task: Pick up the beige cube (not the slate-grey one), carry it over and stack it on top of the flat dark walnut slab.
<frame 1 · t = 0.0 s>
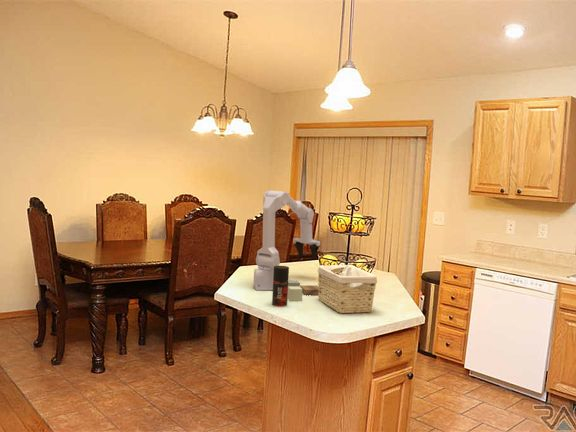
hand: (307, 257, 244), 11 cm above the table, tool pointing down, fingers open, 7 cm apart
slate cube: (292, 292, 214), on the table
walnut slab: (310, 294, 214), on the table
beige cube: (294, 299, 202), on the table
deodorant: (279, 305, 193), on the table
storage basket: (344, 306, 196), on the table
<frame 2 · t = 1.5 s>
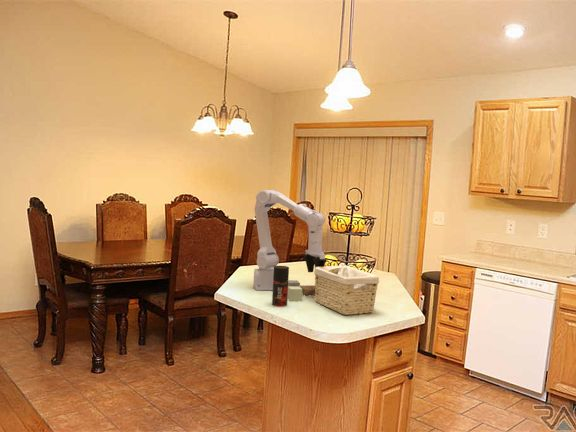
hand: (314, 273, 207), 10 cm above the table, tool pointing down, fingers open, 7 cm apart
storage basket: (343, 307, 194), on the table, touching gripper
everything else where it was.
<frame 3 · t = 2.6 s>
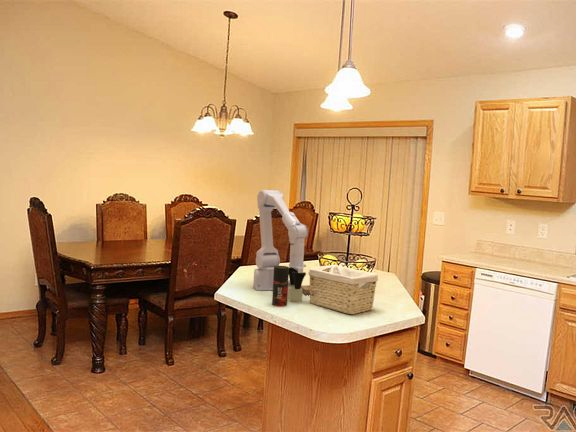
hand: (295, 286, 202), 5 cm above the table, tool pointing down, fingers open, 7 cm apart
storage basket: (340, 307, 195), on the table
everything else where it was.
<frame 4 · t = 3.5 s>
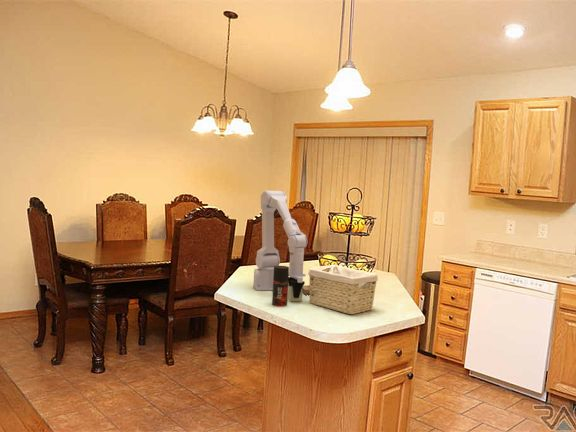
hand: (294, 296, 202), 1 cm above the table, tool pointing down, fingers closed on beige cube, 5 cm apart
beige cube: (294, 299, 202), on the table, touching gripper
everything else where it was.
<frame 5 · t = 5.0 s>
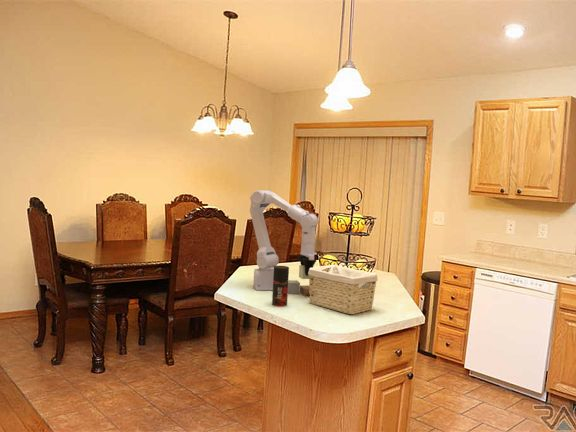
hand: (306, 273, 209), 9 cm above the table, tool pointing down, fingers closed on beige cube, 5 cm apart
beige cube: (306, 277, 209), point 8 cm above the table, touching gripper
everything else where it was.
when the fingers open (6 cm above the table, at t = 6.5 s): beige cube drops 1 cm, point 3 cm above the table.
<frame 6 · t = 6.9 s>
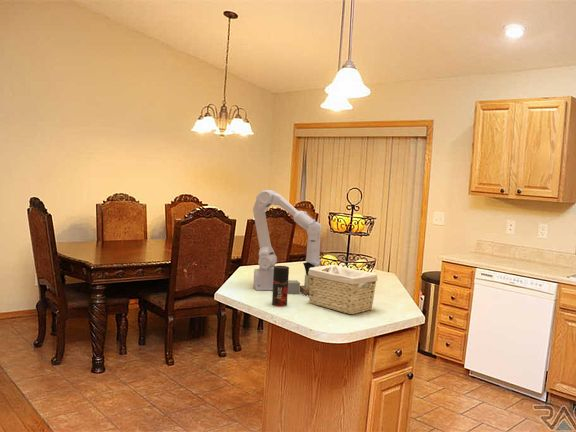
hand: (311, 280, 214), 6 cm above the table, tool pointing down, fingers open, 7 cm apart
beige cube: (311, 287, 214), point 3 cm above the table
everything else where it was.
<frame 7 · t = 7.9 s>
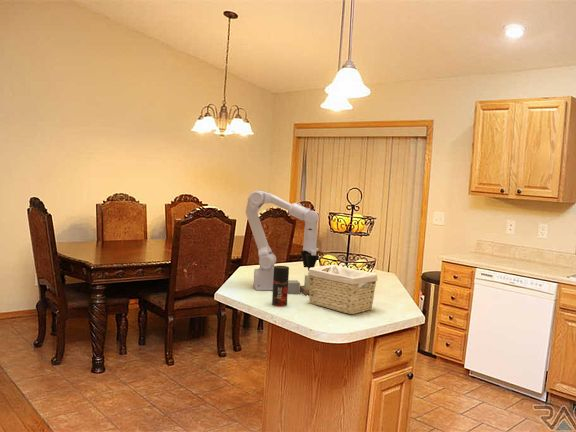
hand: (308, 268, 215), 10 cm above the table, tool pointing down, fingers open, 7 cm apart
walnut slab: (310, 294, 214), on the table, touching beige cube
beige cube: (311, 287, 214), point 3 cm above the table, touching walnut slab
everything else where it was.
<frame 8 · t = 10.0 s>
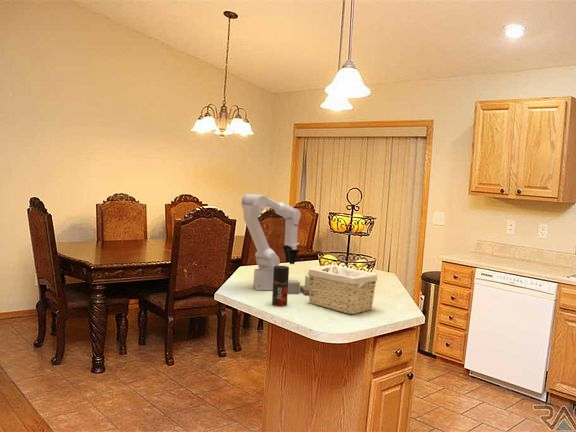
hand: (290, 262, 229), 10 cm above the table, tool pointing down, fingers open, 7 cm apart
nothing on the table moved.
at the end: beige cube 0.2 cm off-centre on the walnut slab, point 3.0 cm above the walnut slab's base; beige cube tilted 0°; the gripper is holding nothing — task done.
